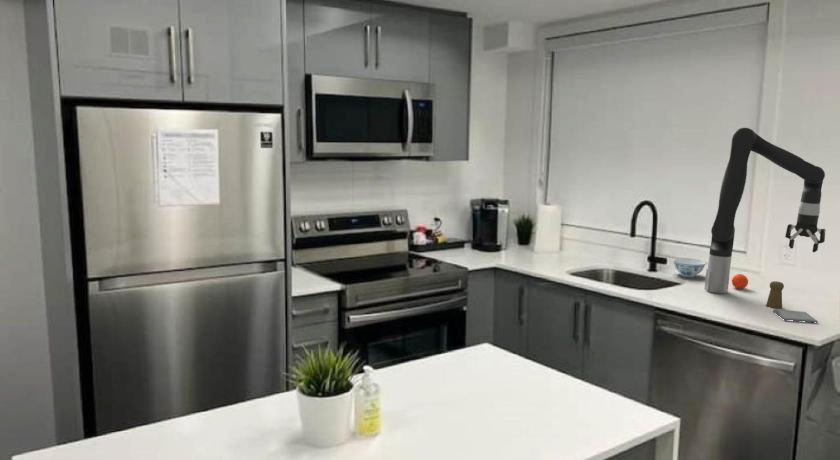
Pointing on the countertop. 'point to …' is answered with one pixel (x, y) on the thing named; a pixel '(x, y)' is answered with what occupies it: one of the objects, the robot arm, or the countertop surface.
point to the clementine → (739, 281)
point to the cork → (775, 295)
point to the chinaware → (688, 266)
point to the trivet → (794, 315)
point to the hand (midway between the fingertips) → (802, 250)
